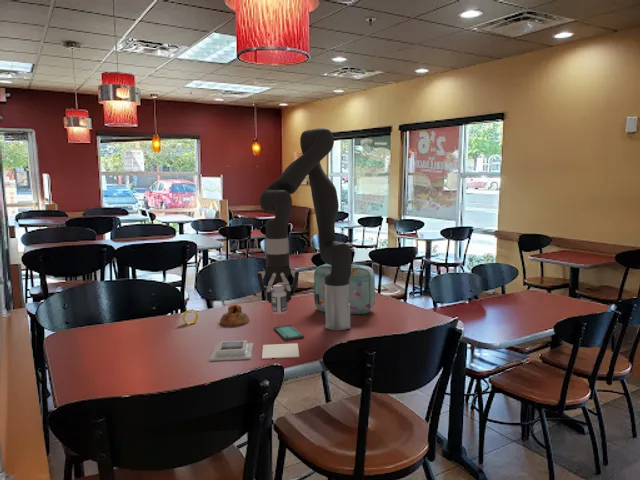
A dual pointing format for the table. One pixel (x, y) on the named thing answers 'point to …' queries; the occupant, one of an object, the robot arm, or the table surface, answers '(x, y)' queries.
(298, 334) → the smartphone
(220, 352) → the square frame
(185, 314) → the yellow ring
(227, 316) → the bell
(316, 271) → the lunch box
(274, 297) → the pill bottle
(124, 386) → the table surface
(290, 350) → the mat
